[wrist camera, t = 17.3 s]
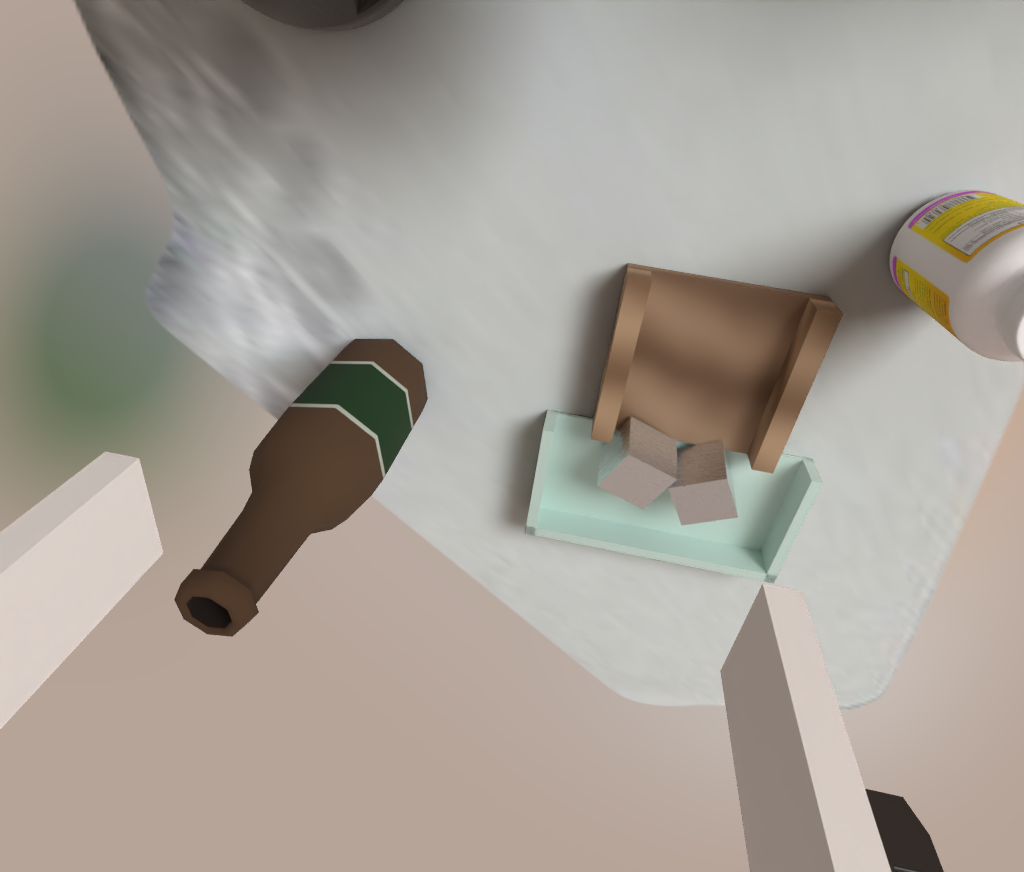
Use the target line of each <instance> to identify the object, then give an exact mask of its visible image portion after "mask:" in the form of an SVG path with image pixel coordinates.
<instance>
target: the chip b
mask: <svg viewBox="0 0 1024 872" xmlns="http://www.w3.org/2000/svg"><path fill="white" fill-rule="evenodd" d="M668 489H669V492H670V495H671V498H672V500H673V503H674V506H675V509H676V512H677V514H678V517H679V520H680V523H681V525H688V524H696V523H703V522H710V521H717V520H724V519H731V518H738V515H737V508H736V501H735V494H734V487H733V480H732V476H731V472H730V468H729V464H728V461H727V457H726V453H725V449H724V446H723V442H722V440H720V441H714V442H709V443H703V444H698V445H693V446H687V447H682V448H677V480H676V481H675V482H674V483H673V484H672V485H670V486H669V487H668Z"/></svg>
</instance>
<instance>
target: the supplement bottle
mask: <svg viewBox="0 0 1024 872" xmlns="http://www.w3.org/2000/svg"><path fill="white" fill-rule="evenodd" d="M890 271H891V275H892V278H893V280H894V282H895V284H896V285H897V286H898V288H899V289H900V290H901V291H902V292H903V293H904V294H905V295H906V296H907V297H909V298H910V299H911V300H912V301H913V302H914V303H916V304H917V305H918V306H919V307H921V308H922V309H923V310H924V311H925V312H926V313H928V314H929V315H930V316H931V317H932V318H934V319H935V320H936V321H937V322H938V323H940V324H941V325H942V326H943V327H944V328H946V329H947V330H948V331H949V332H950V333H951V334H953V335H954V336H955V337H956V338H957V339H958V340H960V341H961V342H962V343H963V344H964V345H966V346H967V347H968V348H970V349H971V350H972V351H974V352H976V353H978V354H980V355H982V356H984V357H987V358H990V359H995V360H1001V361H1012V362H1013V361H1024V204H1021V203H1018V202H1016V201H1013V200H1010V199H1008V198H1005V197H1002V196H999V195H996V194H993V193H989V192H985V191H978V190H964V191H958V192H953V193H949V194H946V195H943V196H941V197H938V198H936V199H934V200H932V201H931V202H929V203H927V204H926V205H924V206H923V207H921V208H920V209H919V210H917V211H916V212H915V213H914V214H913V215H912V216H911V217H910V218H909V219H908V220H907V221H906V222H905V223H904V225H903V226H902V227H901V229H900V230H899V232H898V234H897V236H896V238H895V240H894V242H893V245H892V248H891V252H890Z"/></svg>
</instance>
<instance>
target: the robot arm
mask: <svg viewBox="0 0 1024 872" xmlns="http://www.w3.org/2000/svg"><path fill="white" fill-rule="evenodd" d="M242 1H243V2H245V3H246V4H248V5H249V6H251V7H252V8H254V9H255V10H257V11H259V12H261V13H262V14H264V15H266V16H269V17H271V18H273V19H275V20H277V21H280V22H283V23H285V24H288V25H292V26H296V27H301V28H306V29H317V30H347V29H352V28H357V27H360V26H364V25H366V24H369V23H371V22H374V21H376V20H378V19H380V18H381V17H383V16H385V15H386V14H388V13H389V12H391V11H392V10H393V9H395V8H396V7H397V6H398V5H399V4H400V3H402V2H403V1H404V0H242ZM162 554H163V550H162V546H161V542H160V538H159V534H158V530H157V526H156V522H155V518H154V514H153V511H152V507H151V503H150V499H149V495H148V491H147V487H146V483H145V479H144V475H143V472H142V467H141V464H140V460H139V458H135V457H130V456H125V455H120V454H115V453H110V452H104V453H103V454H102V455H100V456H99V457H98V458H96V459H95V460H94V461H92V462H91V463H90V464H89V465H87V466H86V467H85V468H83V469H82V470H81V471H79V472H78V473H77V474H76V475H74V476H73V477H72V478H70V479H69V480H68V481H67V482H65V483H64V484H63V485H61V486H60V487H59V488H57V489H56V490H55V491H53V492H52V493H51V494H49V495H48V496H47V497H46V498H44V499H43V500H42V501H41V502H39V503H38V504H37V505H35V506H34V507H33V508H31V509H30V510H29V511H27V512H26V513H25V514H23V515H22V516H21V517H19V518H18V519H17V520H16V521H14V522H13V523H12V524H10V525H9V526H8V527H7V528H5V529H4V530H3V531H1V532H0V729H1V728H2V727H3V726H4V725H5V724H6V723H7V721H8V720H9V719H10V718H11V717H12V716H13V715H14V714H15V713H16V712H17V711H18V710H19V708H20V707H21V706H22V705H23V704H24V703H25V702H26V701H27V700H28V699H29V698H30V697H31V696H32V694H33V693H34V692H35V691H36V690H37V689H38V688H39V687H40V686H41V685H42V684H43V682H44V681H45V680H46V679H47V678H48V677H49V676H50V675H51V674H52V673H53V672H54V671H55V670H56V669H57V667H58V666H59V665H60V664H61V663H62V662H63V661H64V660H65V659H66V657H68V656H69V654H70V653H71V652H72V651H73V650H74V649H75V648H76V647H77V646H78V645H79V644H80V643H81V641H82V640H83V639H84V638H85V637H86V636H87V635H88V634H89V633H90V632H91V631H92V630H93V629H94V627H95V626H96V625H97V624H98V623H99V622H100V621H101V620H102V619H103V618H104V617H105V616H106V614H107V613H108V612H109V611H110V610H111V609H112V608H113V607H114V606H115V605H116V604H117V603H118V601H119V600H120V599H121V598H122V597H123V596H124V595H125V594H126V593H127V592H128V591H129V590H130V589H131V587H132V586H133V585H134V584H135V583H136V582H137V581H138V580H139V579H140V578H141V577H142V576H143V574H144V573H145V572H146V571H147V570H148V569H149V568H150V567H151V566H152V565H153V563H155V561H156V560H157V559H158V558H159V557H160V556H161V555H162ZM721 678H722V685H723V691H724V698H725V705H726V711H727V719H728V725H729V732H730V739H731V745H732V752H733V759H734V766H735V772H736V779H737V786H738V793H739V800H740V807H741V814H742V821H743V827H744V834H745V841H746V848H747V855H748V861H749V867H750V872H944V871H943V869H942V866H941V864H940V861H939V858H938V856H937V853H936V850H935V848H934V845H933V843H932V840H931V837H930V835H929V834H928V832H927V831H926V830H925V828H924V827H923V825H922V824H921V822H920V821H919V820H918V818H917V817H916V815H915V814H914V812H913V811H912V810H911V808H910V807H909V805H908V804H907V803H906V801H905V800H904V798H903V797H900V796H895V795H891V794H886V793H882V792H877V791H873V790H868V789H865V787H864V785H863V782H862V779H861V775H860V772H859V769H858V766H857V762H856V759H855V756H854V753H853V750H852V747H851V744H850V741H849V737H848V734H847V731H846V728H845V725H844V722H843V719H842V715H841V712H840V709H839V706H838V703H837V700H836V697H835V693H834V690H833V687H832V684H831V681H830V678H829V675H828V672H827V668H826V665H825V662H824V659H823V656H822V653H821V650H820V646H819V643H818V640H817V637H816V634H815V631H814V628H813V625H812V621H811V618H810V615H809V612H808V609H807V606H806V603H805V599H804V596H803V593H802V592H801V591H796V590H791V589H786V588H781V587H776V586H771V585H766V584H762V586H761V588H760V590H759V593H758V595H757V597H756V599H755V601H754V603H753V605H752V607H751V609H750V611H749V613H748V615H747V617H746V619H745V621H744V624H743V626H742V628H741V630H740V632H739V634H738V636H737V638H736V640H735V642H734V644H733V646H732V648H731V650H730V652H729V655H728V657H727V659H726V661H725V663H724V665H723V667H722V669H721Z"/></svg>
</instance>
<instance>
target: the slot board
mask: <svg viewBox="0 0 1024 872" xmlns="http://www.w3.org/2000/svg"><path fill="white" fill-rule="evenodd" d="M842 315H843V313H842V312H841V311H840V310H839V308H838V307H837V306H836V305H835V304H834V302H833V301H832V300H831V299H830V297H826V296H820V295H814V294H808V293H802V292H796V291H790V290H784V289H778V288H772V287H766V286H760V285H754V284H748V283H743V282H737V281H731V280H725V279H719V278H713V277H707V276H701V275H695V274H689V273H683V272H677V271H671V270H665V269H659V268H653V267H648V266H642V265H636V264H630V263H628V265H627V269H626V273H625V278H624V282H623V287H622V291H621V296H620V300H619V304H618V309H617V313H616V318H615V322H614V327H613V331H612V336H611V340H610V344H609V349H608V353H607V358H606V362H605V367H604V371H603V375H602V380H601V384H600V389H599V393H598V398H597V402H596V406H595V411H594V415H593V422H592V432H591V439H593V440H598V441H603V442H608V443H612V439H613V435H614V431H615V429H616V430H619V429H620V428H621V427H622V425H623V424H624V423H625V422H626V421H627V420H628V419H629V418H630V417H633V418H635V419H637V420H639V421H641V422H643V423H645V424H647V425H648V426H650V427H652V428H654V429H656V430H658V431H660V432H662V433H664V434H666V435H667V436H669V437H671V438H673V439H675V440H677V441H680V442H685V443H691V444H696V445H698V444H703V443H709V442H714V441H720V440H722V442H723V446H724V449H725V450H728V451H733V452H739V453H744V454H747V455H748V459H749V462H750V466H751V469H752V470H757V471H762V472H767V473H772V474H773V473H774V470H775V468H776V466H777V463H778V461H779V459H780V457H781V454H782V452H783V450H784V447H785V445H786V443H787V441H788V438H789V436H790V434H791V431H792V429H793V427H794V425H795V422H796V420H797V418H798V415H799V413H800V411H801V409H802V406H803V404H804V402H805V399H806V397H807V395H808V393H809V390H810V388H811V386H812V383H813V381H814V379H815V377H816V374H817V372H818V370H819V367H820V365H821V363H822V361H823V358H824V356H825V354H826V351H827V349H828V347H829V345H830V342H831V340H832V338H833V335H834V333H835V331H836V328H837V326H838V324H839V322H840V319H841V317H842Z"/></svg>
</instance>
